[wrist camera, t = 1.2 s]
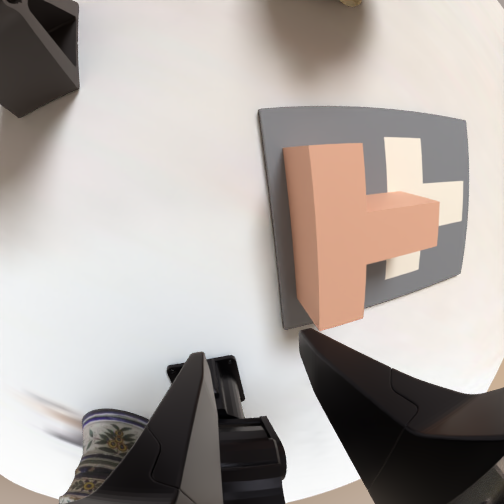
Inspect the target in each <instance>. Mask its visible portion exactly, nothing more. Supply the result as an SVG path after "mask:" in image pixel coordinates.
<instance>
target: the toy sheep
mask: <svg viewBox="0 0 504 504" xmlns="http://www.w3.org/2000/svg"><path fill="white" fill-rule="evenodd" d="M340 1H341V2H342V3H343V4H345V5H347V6H350V7H354V6H358V5H359V4H360V3H361V1H362V0H340Z"/></svg>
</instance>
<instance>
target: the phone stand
mask: <svg viewBox="0 0 504 504" xmlns="http://www.w3.org/2000/svg"><path fill="white" fill-rule="evenodd" d="M78 15H79V5H78V3H77V2H75V1H72V0H0V104H1V105H2V106H4V107H5V108H6V109H8V110H9V111H10V112H12V113H13V114H14V115H16V116H17V117H19V118H20V117H22V116H24V115H25V114H27V113H29V112H31V111H33V110H34V109H36V108H38V107H40V106H42V105H44V104H46V103H48V102H50V101H52V100H54V99H56V98H58V97H60V96H63V95H65V94H67V93H69V92H72V91H74V90H76V89H79V87H80V84H79V68H78V44H77V41H78Z"/></svg>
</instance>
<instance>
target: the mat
mask: <svg viewBox="0 0 504 504" xmlns="http://www.w3.org/2000/svg"><path fill="white" fill-rule="evenodd" d="M258 111H259V118H260V125H261V133H262V140H263V148H264V155H265V163H266V171H267V179H268V187H269V195H270V203H271V212H272V220H273V229H274V238H275V247H276V256H277V266H278V276H279V285H280V296H281V306H282V317H283V327H284V329H285V330H287V329H291V328H295V327H299V326H303V325H307V324H311V323H314V322H313V321H312V319H311V318H310V317H309V315H308V314H307V312H306V311H305V309H304V308H303V306H302V305H301V303H300V302H299V300H298V299H297V294H296V279H295V266H294V254H293V242H292V231H291V220H290V210H289V200H288V191H287V182H286V173H285V164H284V156H283V148H286V147H296V146H308V145H323V144H343V143H363V154H364V166H365V182H366V195H370V194H378V193H387V192H396V191H402V192H406V193H410V194H414V195H417V196H421V197H425V198H428V199H432V200H436V201H439V202H440V207H439V227H438V240H437V246H435V247H432V248H428V249H424V250H421V251H417V252H413V253H410V254H406V255H402V256H398V257H394V258H391V259H387V260H383V261H379V262H375V263H371V264H367V265H366V286H365V302H364V308H367V307H370V306H373V305H376V304H379V303H382V302H385V301H388V300H391V299H394V298H397V297H400V296H403V295H406V294H409V293H411V292H414V291H417V290H420V289H422V288H425V287H428V286H430V285H433V284H436V283H438V282H441V281H443V280H446V279H448V278H451V277H453V276H456V275H458V274H461V268H462V262H463V255H464V248H465V240H466V230H467V219H468V202H469V155H468V138H467V127H466V121H465V120H461V119H456V118H451V117H445V116H439V115H433V114H427V113H420V112H412V111H404V110H395V109H384V108H370V107H349V106H300V107H279V108H264V109H259V110H258Z"/></svg>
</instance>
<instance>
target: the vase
mask: <svg viewBox="0 0 504 504" xmlns="http://www.w3.org/2000/svg"><path fill="white" fill-rule="evenodd" d="M148 422H149V420H148V419H146V418H144V417H141V416H139V415H136V414H133V413H129V412H126V411H121V410H115V409H98V410H93V411H90V412H88V413H87V414H86V415H85V416H84V417H83V419H82V427H83V456H82V458H81V461H80V464H79V466H78V467H77V469H76V471H75V478H74V480H73V482H72V484H71V486H70V487H69V489H68V491H67V492H66V493H65V494H64V495H63V496H61V497H59V504H65V503H68V502H72V501H75V500H79V499H82V498H84V497H86V496H88V495H90V494H91V493H93V492H94V491H95V490H97V489H98V488H99V487H100V485H101V484H102V483H103V482H104V481H105V480H106V478H107V477H108V476H109V475H110V474H111V473H112V471H113V470H114V469H115V468H116V467H117V465H118V464H119V463H120V462H121V461H122V459H123V458H124V457H125V456H126V454H127V453H128V452H129V450H130V449H131V448H132V446H133V445H134V443H135V442H136V440H137V439H138V437H139V436H140V434H141V433H142V431H143V430H144V428H145V427H147V423H148Z"/></svg>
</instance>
